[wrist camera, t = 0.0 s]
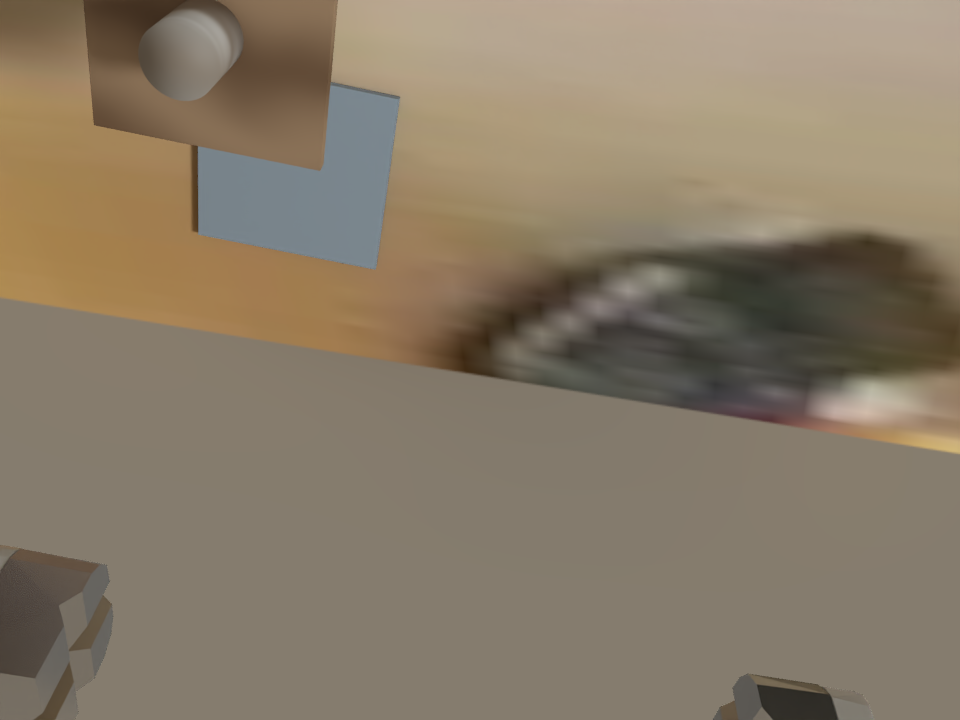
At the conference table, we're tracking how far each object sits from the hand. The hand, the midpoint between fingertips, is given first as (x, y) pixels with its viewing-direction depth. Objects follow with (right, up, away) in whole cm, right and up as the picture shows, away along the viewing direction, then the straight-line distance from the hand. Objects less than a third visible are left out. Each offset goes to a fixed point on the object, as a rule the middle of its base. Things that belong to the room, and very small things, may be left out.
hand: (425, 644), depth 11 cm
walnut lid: (-11, +19, +28) cm, 36 cm away
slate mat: (-12, +17, +48) cm, 53 cm away
